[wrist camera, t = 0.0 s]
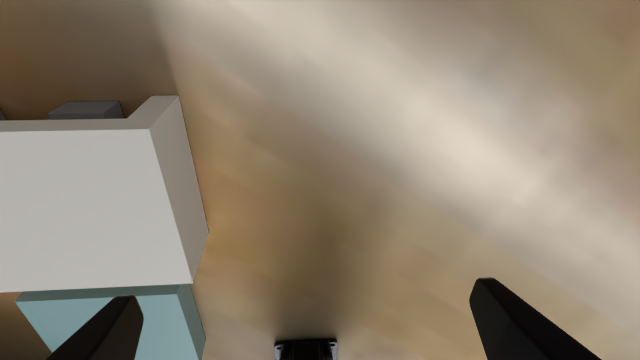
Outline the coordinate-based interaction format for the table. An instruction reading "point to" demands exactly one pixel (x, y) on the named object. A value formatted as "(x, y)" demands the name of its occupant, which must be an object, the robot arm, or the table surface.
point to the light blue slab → (82, 304)
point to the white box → (99, 198)
